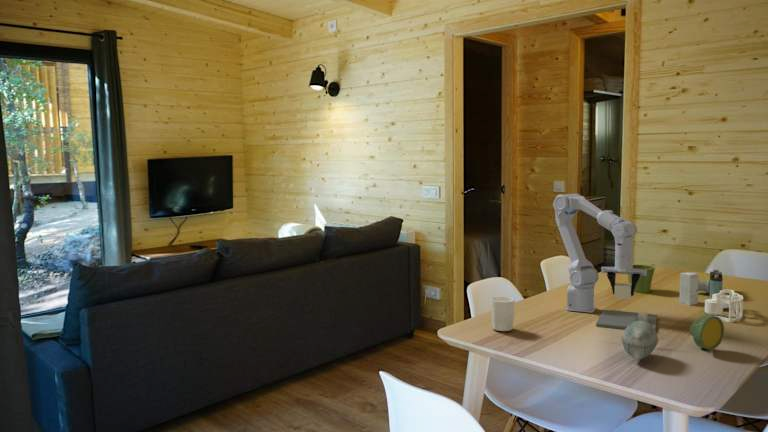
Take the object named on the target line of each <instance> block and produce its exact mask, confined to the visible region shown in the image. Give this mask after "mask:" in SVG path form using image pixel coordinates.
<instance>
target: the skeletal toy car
mask: <svg viewBox="0 0 768 432" xmlns="http://www.w3.org/2000/svg"><path fill="white" fill-rule="evenodd" d="M724 309H728V317H725V316H720V315H722V314H723V313H724ZM704 312H705V313H706V314H708V315H712V316H716V317H719V318H720V319H721V320H722V322H727V323H735V322H740V321H741V320H742V318H743V316H744V295H741V294H740V293H738V292H735V290H733V289H722V290H721V291H720V293H717V294H712V298H709V299H708V298H707V299H705V300H704ZM732 317H734V318H732Z"/></svg>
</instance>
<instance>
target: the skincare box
mask: <svg viewBox="0 0 768 432" xmlns="http://www.w3.org/2000/svg"><path fill="white" fill-rule="evenodd" d="M698 280H699V273H697V272H691V271H687V272H681V273H679V301H678V303H679V304H680V305H685V306H689V307H690V306H691V307H692V306H694V305H696V304H698V303H699V291H698Z"/></svg>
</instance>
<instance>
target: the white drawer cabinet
mask: <svg viewBox="0 0 768 432" xmlns="http://www.w3.org/2000/svg"><path fill="white" fill-rule="evenodd" d="M631 288H632V284H629V282H626V283H625V282H615V291H614V294H613V295H614V299H620V300H621V299H623V300H629V301H630V300H631V299H632V298H633V297H632V296H631Z"/></svg>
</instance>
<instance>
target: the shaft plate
mask: <svg viewBox="0 0 768 432" xmlns="http://www.w3.org/2000/svg"><path fill="white" fill-rule="evenodd" d="M635 321H645V322H648V323H649V324H650V325H652V326H653V328H654V329H655V330H656V328H657V321H658V314H654V313H653V314H652V313H645V312H633V311H622V310H621V311H620V310H611V309H602V311H601V314H600V315H599V317H598V319H597V321H596V323H595V324H596V325H595V327H599V328H607V329H608V328H609V329H616V330H618V329H619V330H623V331H624V330H625V329H626V328H627V327H628V326H629V325H630V324H632V323H633V322H635Z"/></svg>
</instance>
